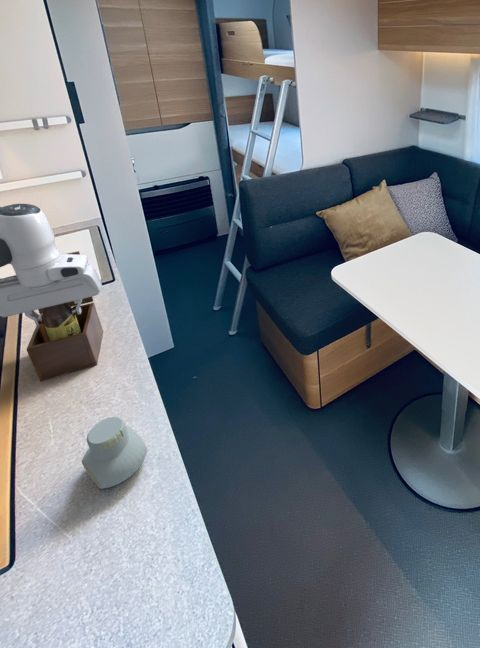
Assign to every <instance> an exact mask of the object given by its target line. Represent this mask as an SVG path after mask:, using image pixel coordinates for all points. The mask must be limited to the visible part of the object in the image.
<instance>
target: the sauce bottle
mask: <svg viewBox="0 0 480 648" xmlns="http://www.w3.org/2000/svg"><path fill="white" fill-rule="evenodd" d="M72 308H73V307H71V306H70V305H69V304H68V303H63V304H59V305H54V306H50V307H46V308H44V310H43V314H42V318H43V321H44V323H45V328H46V331H47V334H48V336H49V339H50V341H54V340H57V339H61V338H65V337H69V336H73V335H76V334H80V333H81V330H80V327H79V324H78V321H77V318H76V315H75V316H73V313H72Z"/></svg>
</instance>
